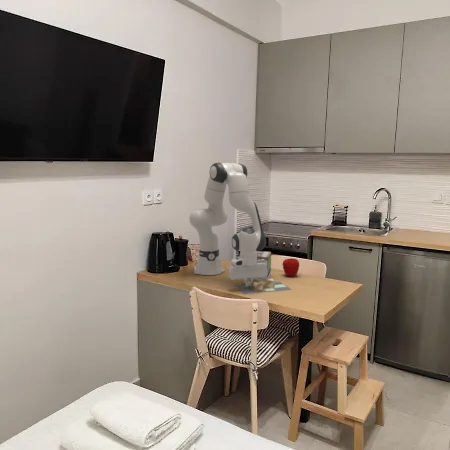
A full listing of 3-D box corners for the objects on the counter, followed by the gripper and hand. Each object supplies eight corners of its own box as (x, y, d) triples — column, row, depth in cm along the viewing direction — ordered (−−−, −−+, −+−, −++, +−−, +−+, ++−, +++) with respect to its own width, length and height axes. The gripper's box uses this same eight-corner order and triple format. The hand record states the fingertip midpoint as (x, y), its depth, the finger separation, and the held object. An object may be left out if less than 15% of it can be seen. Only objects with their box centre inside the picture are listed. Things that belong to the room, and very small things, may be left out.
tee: (255, 291, 213) (255, 284, 212) (248, 285, 224) (248, 278, 224) (277, 290, 216) (277, 282, 215) (269, 283, 228) (269, 276, 227)
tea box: (268, 282, 232) (268, 256, 230) (250, 282, 234) (250, 256, 232) (271, 275, 247) (271, 251, 245) (254, 275, 249) (254, 250, 247)
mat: (234, 286, 225) (234, 285, 225) (279, 282, 232) (279, 281, 232) (244, 295, 210) (244, 294, 209) (292, 291, 216) (292, 289, 216)
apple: (294, 273, 252) (294, 255, 251) (302, 277, 243) (302, 258, 242) (279, 274, 249) (279, 256, 248) (286, 278, 240) (287, 260, 239)
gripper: (265, 257, 222) (265, 283, 224) (227, 260, 217) (228, 286, 218) (269, 260, 216) (269, 286, 218) (231, 262, 210) (231, 289, 212)
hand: (248, 286), depth 218 cm, fingers closed
